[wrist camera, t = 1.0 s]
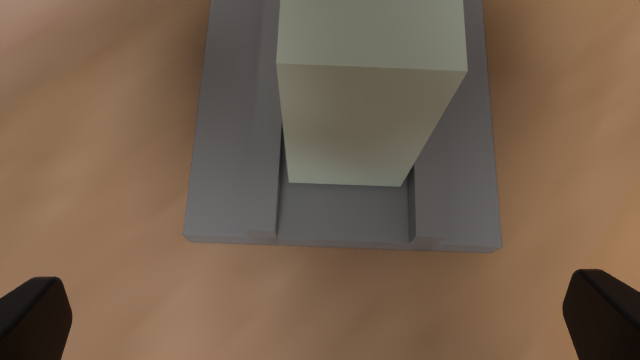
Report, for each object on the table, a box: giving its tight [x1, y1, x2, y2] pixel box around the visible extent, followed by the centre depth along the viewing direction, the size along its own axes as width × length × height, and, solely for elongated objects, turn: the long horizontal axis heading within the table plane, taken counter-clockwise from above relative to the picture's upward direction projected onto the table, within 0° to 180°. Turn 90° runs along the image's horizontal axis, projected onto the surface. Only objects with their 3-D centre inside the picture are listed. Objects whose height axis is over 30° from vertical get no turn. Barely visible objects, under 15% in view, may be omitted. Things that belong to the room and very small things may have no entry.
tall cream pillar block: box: [276, 0, 468, 187], centre depth 19 cm, size 5×5×10 cm
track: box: [183, 0, 502, 253], centre depth 23 cm, size 16×14×6 cm
